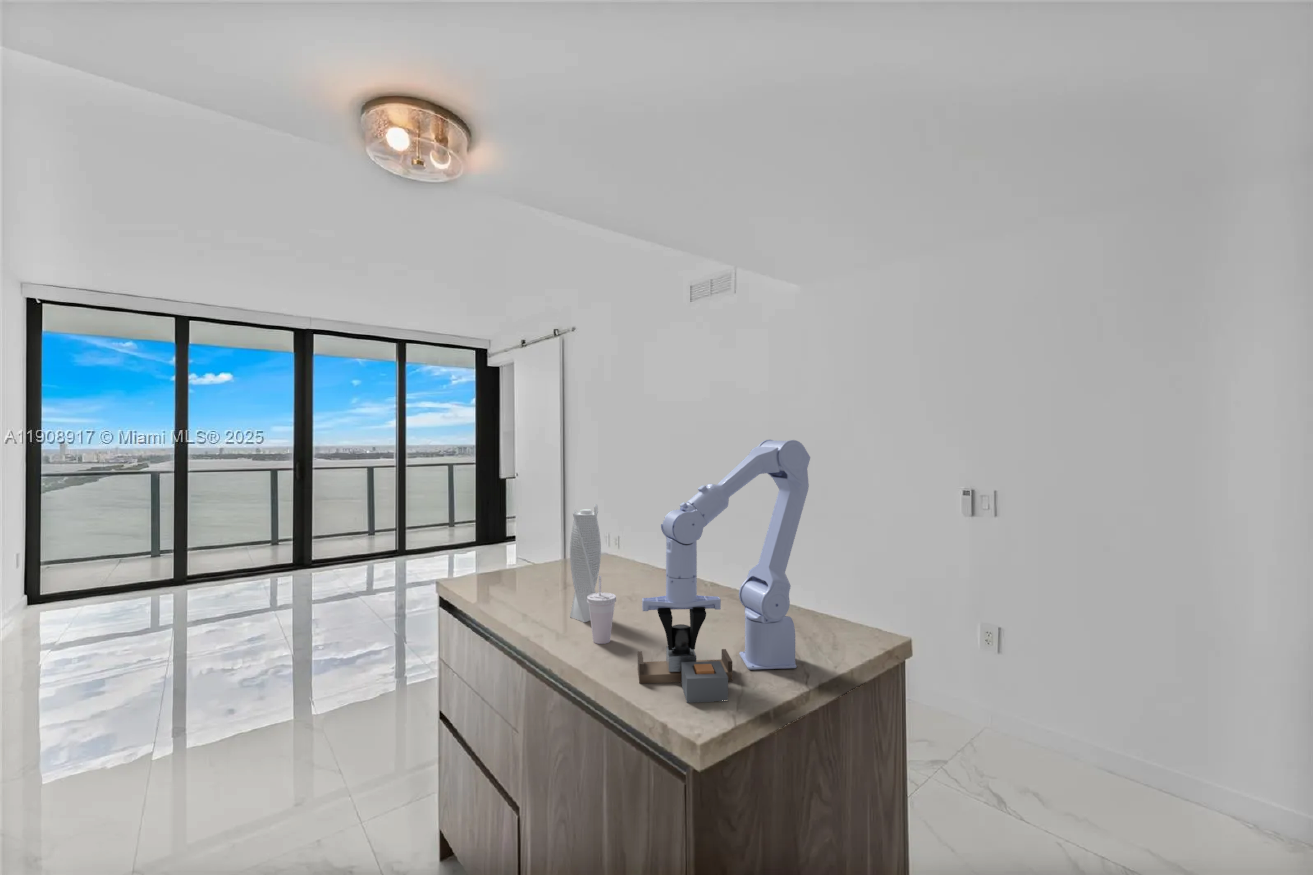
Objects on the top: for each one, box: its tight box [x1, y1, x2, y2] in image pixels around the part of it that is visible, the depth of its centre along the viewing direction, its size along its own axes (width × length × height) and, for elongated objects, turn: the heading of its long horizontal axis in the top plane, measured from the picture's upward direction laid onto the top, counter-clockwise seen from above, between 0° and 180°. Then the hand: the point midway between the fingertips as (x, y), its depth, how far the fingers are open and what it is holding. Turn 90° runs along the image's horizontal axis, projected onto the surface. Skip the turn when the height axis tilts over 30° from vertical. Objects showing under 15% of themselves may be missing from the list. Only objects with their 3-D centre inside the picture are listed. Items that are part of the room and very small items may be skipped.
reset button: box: [694, 664, 714, 674], centre depth 99 cm, size 3×3×4 cm
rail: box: [637, 648, 733, 684], centre depth 106 cm, size 17×6×4 cm, turn 95°
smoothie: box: [587, 575, 617, 645], centre depth 124 cm, size 6×6×14 cm
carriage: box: [665, 624, 697, 672], centre depth 106 cm, size 5×5×7 cm
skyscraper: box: [569, 503, 602, 623], centre depth 140 cm, size 8×8×28 cm
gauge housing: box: [680, 661, 729, 704], centre depth 99 cm, size 7×7×4 cm
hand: (681, 647), depth 106 cm, fingers closed on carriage, 3 cm apart
